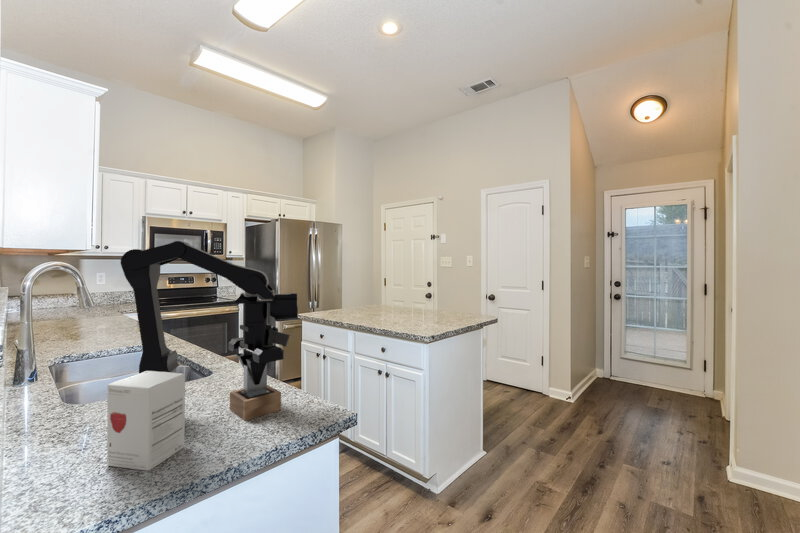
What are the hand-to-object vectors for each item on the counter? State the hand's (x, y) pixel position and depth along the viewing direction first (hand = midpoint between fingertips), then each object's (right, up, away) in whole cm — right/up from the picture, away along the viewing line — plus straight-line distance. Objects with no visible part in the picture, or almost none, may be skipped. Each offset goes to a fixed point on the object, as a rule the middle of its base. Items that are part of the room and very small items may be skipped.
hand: (254, 383), depth 92 cm
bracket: (0, -3, 0) cm, 3 cm away
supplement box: (-12, -7, -22) cm, 26 cm away
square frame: (0, -7, 0) cm, 7 cm away
